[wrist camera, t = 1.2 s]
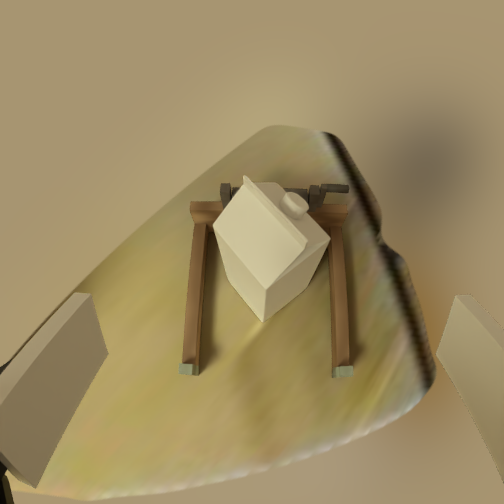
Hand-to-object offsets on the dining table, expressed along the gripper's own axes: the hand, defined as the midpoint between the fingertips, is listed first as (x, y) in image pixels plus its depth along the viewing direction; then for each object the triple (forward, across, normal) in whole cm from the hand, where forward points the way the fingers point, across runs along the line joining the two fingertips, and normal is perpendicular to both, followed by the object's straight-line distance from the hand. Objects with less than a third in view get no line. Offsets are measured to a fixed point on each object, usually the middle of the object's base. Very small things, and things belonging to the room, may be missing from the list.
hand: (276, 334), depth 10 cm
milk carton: (+27, 0, -12) cm, 30 cm away
